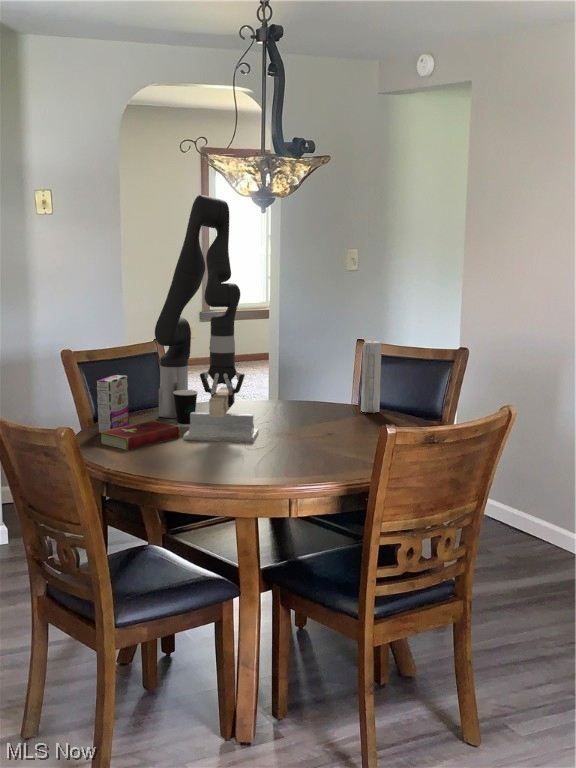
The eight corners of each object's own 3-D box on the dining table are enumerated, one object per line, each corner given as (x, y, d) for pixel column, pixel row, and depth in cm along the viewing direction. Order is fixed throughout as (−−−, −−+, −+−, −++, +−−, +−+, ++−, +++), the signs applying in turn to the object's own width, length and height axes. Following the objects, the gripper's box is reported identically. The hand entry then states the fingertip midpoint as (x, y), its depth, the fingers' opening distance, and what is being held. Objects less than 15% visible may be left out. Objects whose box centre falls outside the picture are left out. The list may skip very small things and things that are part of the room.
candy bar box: (115, 425, 269) (114, 374, 267) (129, 426, 268) (128, 375, 265) (97, 432, 259) (95, 379, 256) (111, 433, 257) (110, 381, 255)
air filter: (382, 411, 297) (384, 341, 293) (374, 414, 292) (376, 343, 288) (365, 409, 301) (368, 340, 296) (357, 412, 295) (359, 341, 291)
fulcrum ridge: (183, 439, 251) (183, 416, 250) (191, 430, 263) (191, 408, 262) (253, 442, 249) (253, 419, 248) (258, 433, 261) (258, 411, 260)
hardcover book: (180, 438, 255) (180, 425, 254) (127, 452, 238) (127, 437, 238) (152, 432, 262) (152, 419, 261) (99, 445, 245) (99, 430, 245)
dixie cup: (192, 429, 265) (192, 394, 264) (169, 427, 268) (168, 393, 266) (201, 424, 273) (201, 390, 271) (179, 422, 275) (179, 389, 273)
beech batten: (222, 402, 266) (222, 386, 265) (234, 402, 266) (234, 386, 265) (209, 416, 244) (209, 399, 243) (222, 417, 244) (222, 400, 243)
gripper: (247, 349, 255) (247, 404, 258) (201, 348, 256) (201, 403, 259) (244, 352, 247) (243, 409, 250) (196, 351, 249) (196, 408, 252)
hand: (222, 406), depth 255 cm, fingers closed on beech batten, 4 cm apart
